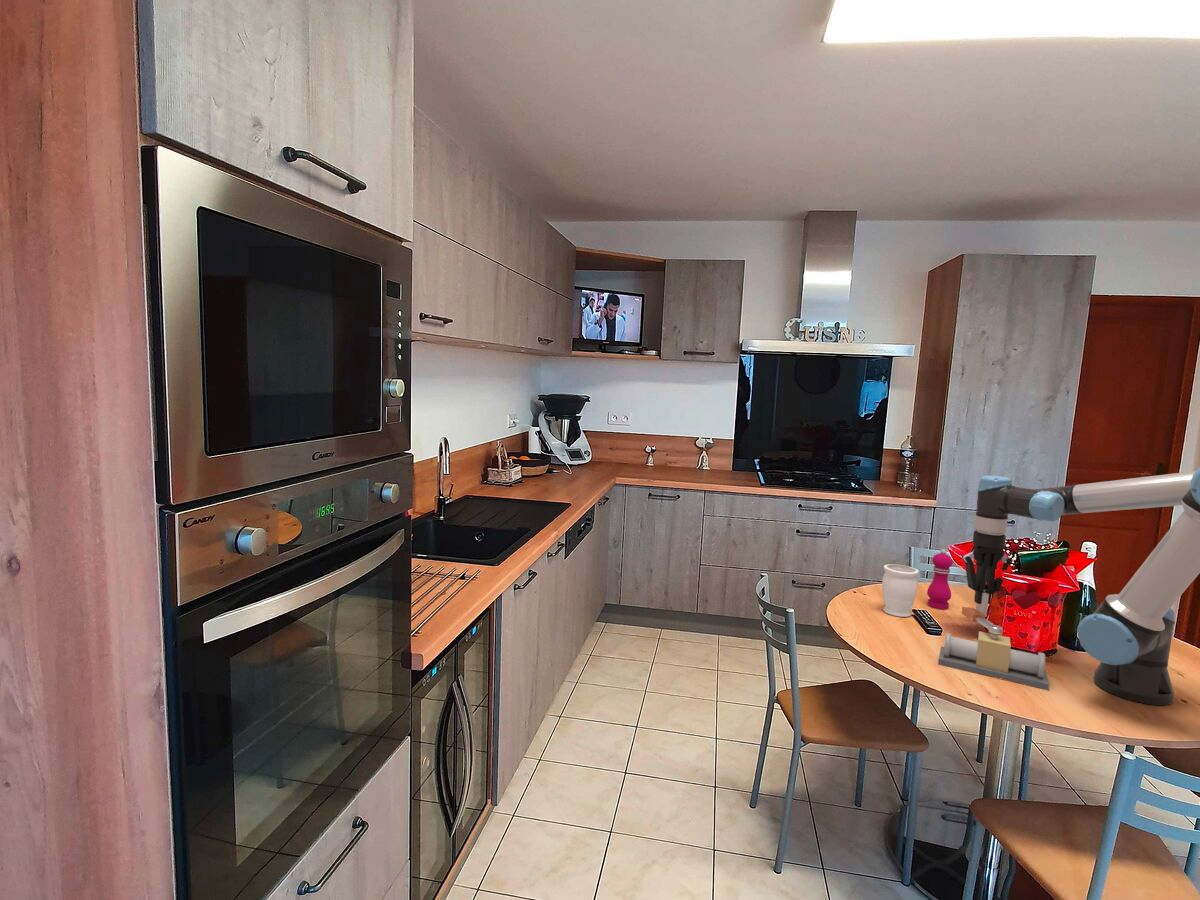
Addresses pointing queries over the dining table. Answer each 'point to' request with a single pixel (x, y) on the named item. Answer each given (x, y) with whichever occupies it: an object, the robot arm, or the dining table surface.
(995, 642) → the valve
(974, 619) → the valve lever
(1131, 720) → the dining table surface
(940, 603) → the pepper mill
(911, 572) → the jar
